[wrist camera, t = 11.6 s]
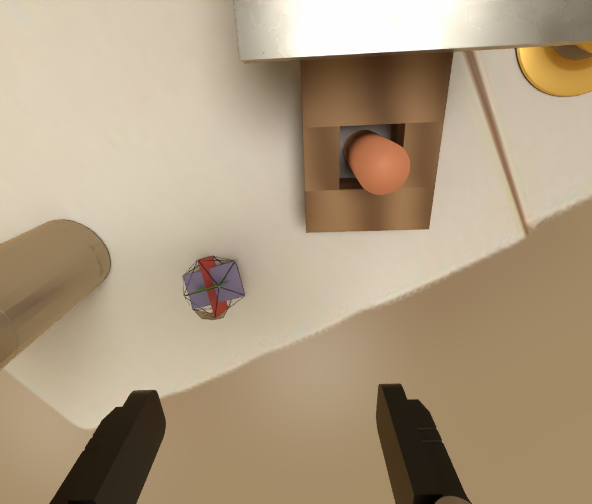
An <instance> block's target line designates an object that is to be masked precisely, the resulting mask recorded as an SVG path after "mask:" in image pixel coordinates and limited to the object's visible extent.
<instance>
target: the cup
mask: <svg viewBox="0 0 592 504" xmlns="http://www.w3.org/2000/svg"><path fill="white" fill-rule="evenodd" d="M576 46H577V47H578V48H580V49H581V50H583V51H585V52H588V53H592V41H591V42H586V43H581V44H577V45H576ZM516 50H517V57H518V61H519V64H520V67H521V69H522V71H523V73H524V75H525V76H526V78H527V79H528V80H529V82H530V83H531V84H532V85H533V86H535V87H536V88H537V89H539V90H541V91H543V92H545V93H547V94H550V95H555V96H576V95H581V94H585V93H588V92H591V91H592V56H590V57H587V58H584V59H580V60H571V59H567V58H564V57H562V56H561V55H560V54H558V52H557V51H556V50H555V48H554V46H545V47H527V48H516Z"/></svg>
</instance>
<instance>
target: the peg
mask: <svg viewBox="0 0 592 504" xmlns="http://www.w3.org/2000/svg"><path fill="white" fill-rule="evenodd" d="M344 156H345V159H346V161H347V163H348V165H349V166H350V168H351V170H352V171H353V173H354V174H355V176H356V178H357V179H358V181H359V183H360V184H361V186H362V187H363V188H364V189H365V190H366V191H368V192H370V193H372V194H376V195H385V194H389V193H392V192H394V191H396V190H397V189H399V188H400V187H401V186H402V185H403V184H404V182H405V181H406V179H407V177H408V175H409V171H410V160H409V156H408V154H407V152H406V151H405V150H404V148H402V147H401V146H400V145H398V144H396V143H394V142H392V141H390V140H388V139H386V138H384V137H382V136H380V135H379V134H377V133H375V132H373V131H370V130H360V131H357V132H355V133H353V134H352V135H351V136H350V137H349V138H348V140H347V141H346V143H345V146H344Z"/></svg>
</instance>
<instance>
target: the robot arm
mask: <svg viewBox="0 0 592 504" xmlns="http://www.w3.org/2000/svg"><path fill="white" fill-rule="evenodd" d="M109 269H110V258H109V253H108V251H107V249H106V247H105V245H104V244H103V242H102V241H101V240H100V238H99V237H98V236H97V235H96V234H95V233H93V232H92V231H91V230H89V229H88V228H86V227H85V226H83V225H81V224H79V223H76V222H73V221H68V220H54V221H50V222H47V223H45V224H43V225H41V226H39V227H36V228H34V229H32V230H30V231H28V232H26V233H23V234H21V235H19V236H17V237H15V238H12V239H10V240H8V241H6V242H4V243H2V244H0V370H1V369H2V368H3V367H5V366H6V365H7V364H8V363H9V362H10V361H11V360H12V359H14V358H15V357H16V356H17V355H18V354H19V353H20V352H22V351H23V350H24V349H25V348H26V347H27V346H28V345H30V344H31V343H32V342H33V341H34V340H35V339H36V338H38V337H39V336H40V335H41V334H42V333H43V332H45V331H46V330H47V329H48V328H49V327H50V326H51V325H53V324H54V323H55V322H56V321H57V320H58V319H59V318H61V317H62V316H63V315H64V314H65V313H66V312H67V311H69V310H70V309H71V308H72V307H73V306H74V305H76V304H77V303H78V302H79V301H80V300H81V299H82V298H84V297H85V296H86V295H87V294H88V293H89V292H90V291H92V290H93V289H94V288H95V287H96V286H97V285H98V284H99V283H101V282H102V281H103V280H104V279H105V278H106V276H107V275H108V273H109ZM376 422H377V429H378V434H379V438H380V442H381V446H382V450H383V454H384V458H385V462H386V466H387V470H388V475H389V479H390V483H391V486H392V491H393V495H394V499H395V503H396V504H472V503H471V502H470V501H469V499H468V498H467V496H466V494H465V492H464V490H463V488H462V485H461V483H460V481H459V478H458V476H457V474H456V472H455V469H454V467H453V465H452V462H451V460H450V458H449V456H448V453H447V451H446V448H445V446H444V444H443V443H442V439H441V437H440V435H439V432H438V431H437V429H436V425H435V423H434V421H433V419H432V416H431V414H430V412H429V411H428V410H427V409H426V408H425V406H424V405H423V404H422V403H421V402H420V401H419V400H418V399H417V400H407V398H406V395H405V392H404V390H403V387H402V385H401V384H379V386H378V397H377V410H376ZM165 428H166V421H165V416H164V413H163V409H162V406H161V403H160V399H159V396H158V393H157V391H156V390H138V391H133V392H131V394H130V395H129V397H128V398H127V400H126V402H125V403H124V405H123V407H116V408H115V409H114V410H113V411H111V412H110V413H109V414H108V415H107V416H106V417H105V418H104V419H103V420H102V421H101V423H100V425H99V426H98V428H97V429H96V431H95V433H94V434H93V437H92V438H91V439H90V440H89V442H88V444H87V445H86V447H85V450H84V451H83V452H82V453H81V455H80V456H79V458H78V459H77V461H76V463H75V464H74V466H73V467H72V469H71V471H70V472H69V474H68V475H67V477H66V478H65V480H64V482H63V483H62V485H61V486H60V488H59V490H58V491H57V493H56V495H55V496H54V498H53V499H52V500H51V502H50V504H136V503H137V500H138V498H139V496H140V493H141V491H142V489H143V486H144V483H145V481H146V479H147V476H148V474H149V471H150V469H151V466H152V464H153V462H154V459H155V457H156V454H157V452H158V450H159V447H160V444H161V442H162V440H163V437H164V434H165Z"/></svg>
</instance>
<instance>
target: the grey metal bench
mask: <svg viewBox="0 0 592 504" xmlns="http://www.w3.org/2000/svg"><path fill="white" fill-rule="evenodd" d="M234 9H235V19H236V29H237V38H238V48H239V58H240V61H242V62H243V63H260V62H278V61H296V60H314V59H331V58H349V57H367V56H385V55H403V54H420V53H438V52H456V51H474V50H492V49H509V48H527V47H545V46H563V45H577V44H581V43H586V42H591V41H592V0H234Z"/></svg>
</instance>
